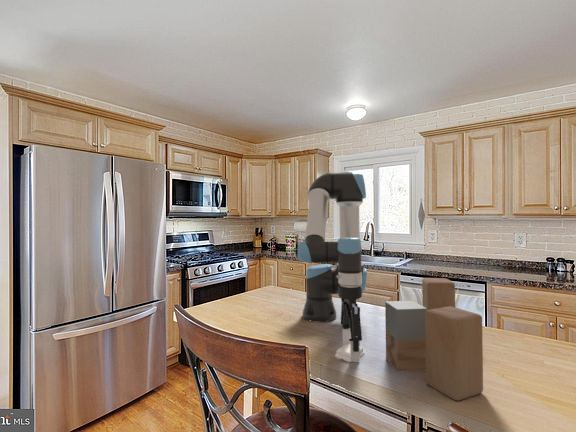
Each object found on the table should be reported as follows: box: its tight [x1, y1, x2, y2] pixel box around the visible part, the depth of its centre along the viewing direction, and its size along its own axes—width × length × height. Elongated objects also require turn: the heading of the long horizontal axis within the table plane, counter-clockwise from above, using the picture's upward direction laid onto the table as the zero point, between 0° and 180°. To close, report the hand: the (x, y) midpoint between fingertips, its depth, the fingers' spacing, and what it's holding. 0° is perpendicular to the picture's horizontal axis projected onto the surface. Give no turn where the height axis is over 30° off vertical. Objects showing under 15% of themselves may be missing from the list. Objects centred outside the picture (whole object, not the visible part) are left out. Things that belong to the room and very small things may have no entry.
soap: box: [334, 343, 366, 363], centre depth 105 cm, size 9×7×3 cm
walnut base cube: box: [385, 330, 426, 373], centre depth 99 cm, size 9×9×9 cm
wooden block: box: [421, 277, 456, 310], centre depth 127 cm, size 10×10×20 cm
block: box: [425, 306, 484, 402], centre depth 84 cm, size 10×10×20 cm
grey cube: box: [384, 300, 427, 341], centre depth 99 cm, size 9×9×9 cm
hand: (350, 354), depth 105 cm, fingers open, 9 cm apart
